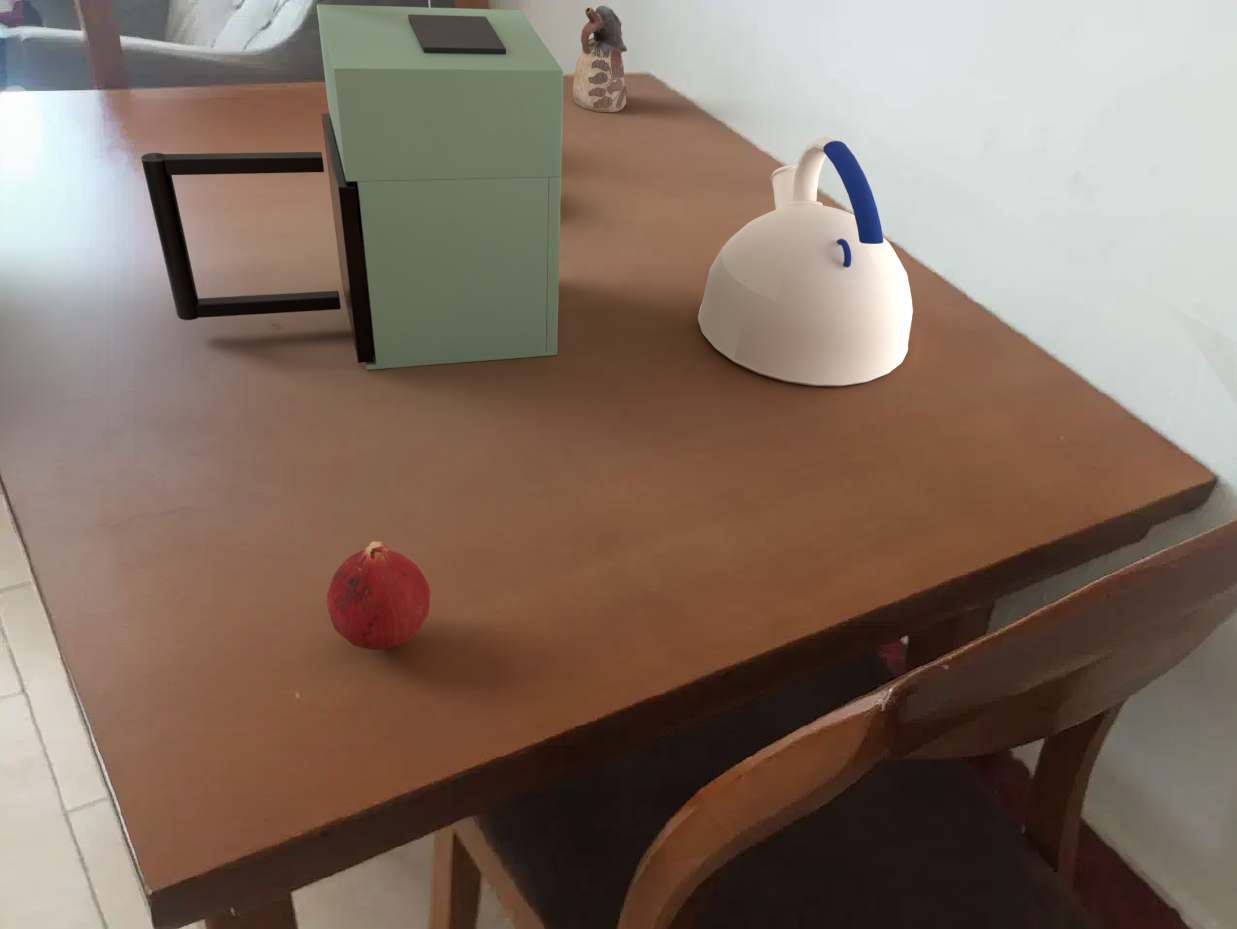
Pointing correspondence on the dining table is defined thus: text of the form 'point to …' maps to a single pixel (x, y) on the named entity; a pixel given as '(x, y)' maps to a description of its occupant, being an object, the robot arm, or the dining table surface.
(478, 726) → the dining table surface
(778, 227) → the kettle
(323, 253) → the dining table surface
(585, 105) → the figurine
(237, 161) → the dark brown drawer
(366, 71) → the sage green appliance box
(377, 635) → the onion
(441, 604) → the dining table surface
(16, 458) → the dining table surface
